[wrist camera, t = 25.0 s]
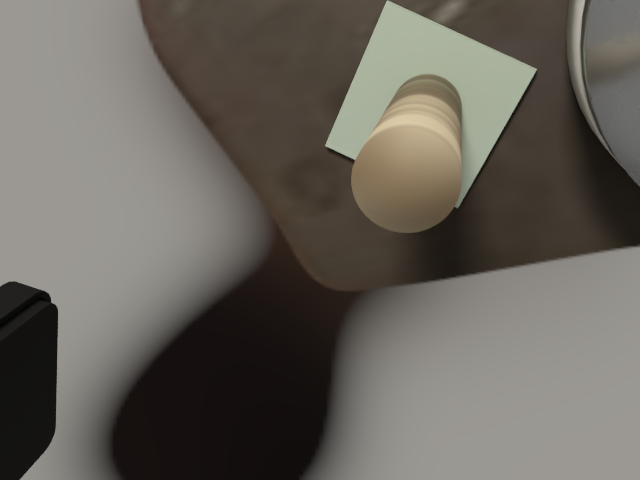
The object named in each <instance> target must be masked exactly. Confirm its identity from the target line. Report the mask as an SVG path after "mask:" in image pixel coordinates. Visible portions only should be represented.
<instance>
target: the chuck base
mask: <svg viewBox="0 0 640 480" xmlns="http://www.w3.org/2000/svg"><path fill="white" fill-rule="evenodd" d="M584 4H585V0H569V3H568V13H567V24H566V50H567V62H568V67H569V73H570V78H571V84H572V87H573V89H574V92H575V95H576V98H577V101H578V104H579V107H580V109H581V111H582V113H583V115H584V117H585V119H586V120H587V122H588V124H589V126H590V128H591V129H592V131H593V132H594V134H595V135H596V136H597V138H598V139H599V140H600V142H601V143H602V145H603V146H604V147H605V148H606V149H607V151H608V152H609V153H610V154H611V155H612V156H613V154H612V153H611V152H610V150H609V148H608V146H607V145H606V143H605V141H604V139H603V138H602V136H601V134H600V132H599V130H598V129H597V126H596V123H595V121H594V118H593V115H592V113H591V110H590V107H589V105H588V101H587V96H586V91H585V87H584V82H583V77H582V66H581V51H580V42H581V27H582V14H583V9H584ZM613 157H614V156H613ZM614 159H615V160H616V158H615V157H614ZM616 161H617V160H616ZM617 162H618V161H617ZM618 163H619V162H618ZM619 164H620V163H619ZM621 167H622V166H621ZM622 168H623V167H622ZM623 169H624V168H623Z"/></svg>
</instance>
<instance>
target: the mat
mask: <svg viewBox="0 0 640 480" xmlns="http://www.w3.org/2000/svg"><path fill="white" fill-rule="evenodd" d="M536 70H537V69H536V68H533V67H531V66H529V65H527V64H525V63H523V62H520V61H518V60H516V59H514V58H512V57H509V56H507V55H505V54H503V53H501V52H499V51H496V50H494V49H492V48H490V47H488V46H486V45H483V44H481V43H479V42H477V41H475V40H473V39H470V38H468V37H466V36H464V35H462V34H460V33H457V32H455V31H453V30H451V29H449V28H447V27H444V26H442V25H440V24H438V23H436V22H434V21H431V20H429V19H427V18H425V17H423V16H421V15H418V14H416V13H414V12H412V11H410V10H408V9H405V8H403V7H401V6H399V5H397V4H395V3H392V2H390V1H388V0H387V2H386V4H385V6H384V9H383V11H382V13H381V16H380V18H379V20H378V23H377V25H376V28H375V30H374V32H373V35H372V37H371V39H370V42H369V44H368V46H367V49H366V51H365V53H364V56H363V58H362V60H361V63H360V65H359V67H358V70H357V72H356V75H355V77H354V79H353V82H352V84H351V86H350V89H349V91H348V93H347V96H346V98H345V100H344V103H343V105H342V107H341V110H340V112H339V114H338V117H337V119H336V122H335V124H334V126H333V129H332V131H331V133H330V136H329V138H328V140H327V143H326V145H325V146H326V147H328V148H331V149H333V150H335V151H337V152H339V153H341V154H343V155H345V156H348V157H350V158H352V159H354V160H356V158H357V156H358V154H359V152H360V151H361V149H362V148H363V146H364V144H365V143H366V141H367V139H368V138H369V136H370V134H371V133H372V131H373V130H374V128H375V126H376V125H377V123H378V121H379V120H380V118H381V117H382V115H383V113H384V112H385V110H386V108H387V107H388V105H389V103H390V102H391V100H392V99H393V97H394V95H395V94H396V92H397V91H398V89H399V88H400V87H401V85H402V84H403V83H405V82H406V81H407V80H409V79H410V78H412V77H414V76H417V75H422V74H434V75H438V76H441V77H443V78H445V79H447V80H448V81H450V82H451V83H452V84H453V85H454V87H455V88H456V89H457V91H458V93H459V95H460V98H461V103H462V150H461V190H460V194H459V198H458V200H457V203H456V205H455V206H454V207H456V208H458V207H459V206H460V204H461V202H462V200H463V199H464V197H465V195H466V193H467V192H468V190H469V188H470V186H471V185H472V183H473V181H474V179H475V178H476V176H477V174H478V172H479V171H480V169H481V167H482V165H483V164H484V162H485V160H486V158H487V156H488V155H489V153H490V151H491V149H492V148H493V146H494V144H495V142H496V141H497V139H498V137H499V135H500V134H501V132H502V130H503V128H504V127H505V125H506V123H507V121H508V120H509V118H510V116H511V114H512V113H513V111H514V109H515V107H516V106H517V104H518V102H519V100H520V99H521V97H522V95H523V93H524V92H525V90H526V88H527V86H528V85H529V83H530V81H531V79H532V78H533V76H534V74H535V72H536Z"/></svg>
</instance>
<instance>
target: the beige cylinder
mask: <svg viewBox="0 0 640 480" xmlns="http://www.w3.org/2000/svg"><path fill="white" fill-rule="evenodd" d="M461 150H462V103H461V98H460V95H459V93H458V91H457V89H456V88H455V87H454V85H453V84H452V83H451V82H450V81H448V80H447V79H445V78H443V77H441V76H438V75H434V74H422V75H417V76H414V77H412V78H410V79H409V80H407V81H406V82H405V83H403V84H402V85H401V87H400V88H399V89H398V91H397V92H396V94H395V95H394V97H393V99H392V100H391V102H390V103H389V105H388V107H387V108H386V110H385V112H384V113H383V115H382V117H381V118H380V120H379V121H378V123H377V125H376V126H375V128H374V130H373V131H372V133H371V134H370V136H369V138H368V139H367V141H366V143H365V144H364V146H363V148H362V149H361V151H360V152H359V154H358V156H357V158H356V160H355V163H354V165H353V169H352V177H351V183H352V190H353V195H354V197H355V200H356V202H357V204H358V206H359V207H360V209H361V210H362V212H363V213H364V214H365V215H366V216H367V217H368V218H369V219H370V220H371V221H373V222H374V223H375V224H377V225H379V226H381V227H382V228H385V229H387V230H390V231H394V232H400V233H414V232H420V231H424V230H426V229H429V228H431V227H433V226H435V225H437V224H438V223H440V222H441V221H442V220H444V219H445V218H446V217H447V216H448V215H449V213H450V212H451V211H452V210H453V208H454V206H455V205H456V203H457V200H458V198H459V194H460V190H461Z"/></svg>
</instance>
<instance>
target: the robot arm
mask: <svg viewBox="0 0 640 480" xmlns="http://www.w3.org/2000/svg"><path fill="white" fill-rule="evenodd" d="M57 337H58V309H57V307H56V305H55V304H52V303H51V298H50V296H49V294H48V293H47V292H45V291H42V290H39V289H36V288H33V287H30V286H27V285H24V284H21V283H18V282H8V283H6V284H4V285H2V286H1V287H0V480H19V479H20V478H21V477H22V476H23V475H24V474H25V473H26V472H27V471H28V469H29V468H30V467H31V466H32V465H33V464H34V463H35V461H37V459H38V458H39V457H40V456H41V455H42V454H43V453H44V452H45V450H46V449H47V447H48V446H49V444H50V443H51V441H52V438H53V436H54V433H55V426H56V383H57Z"/></svg>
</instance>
